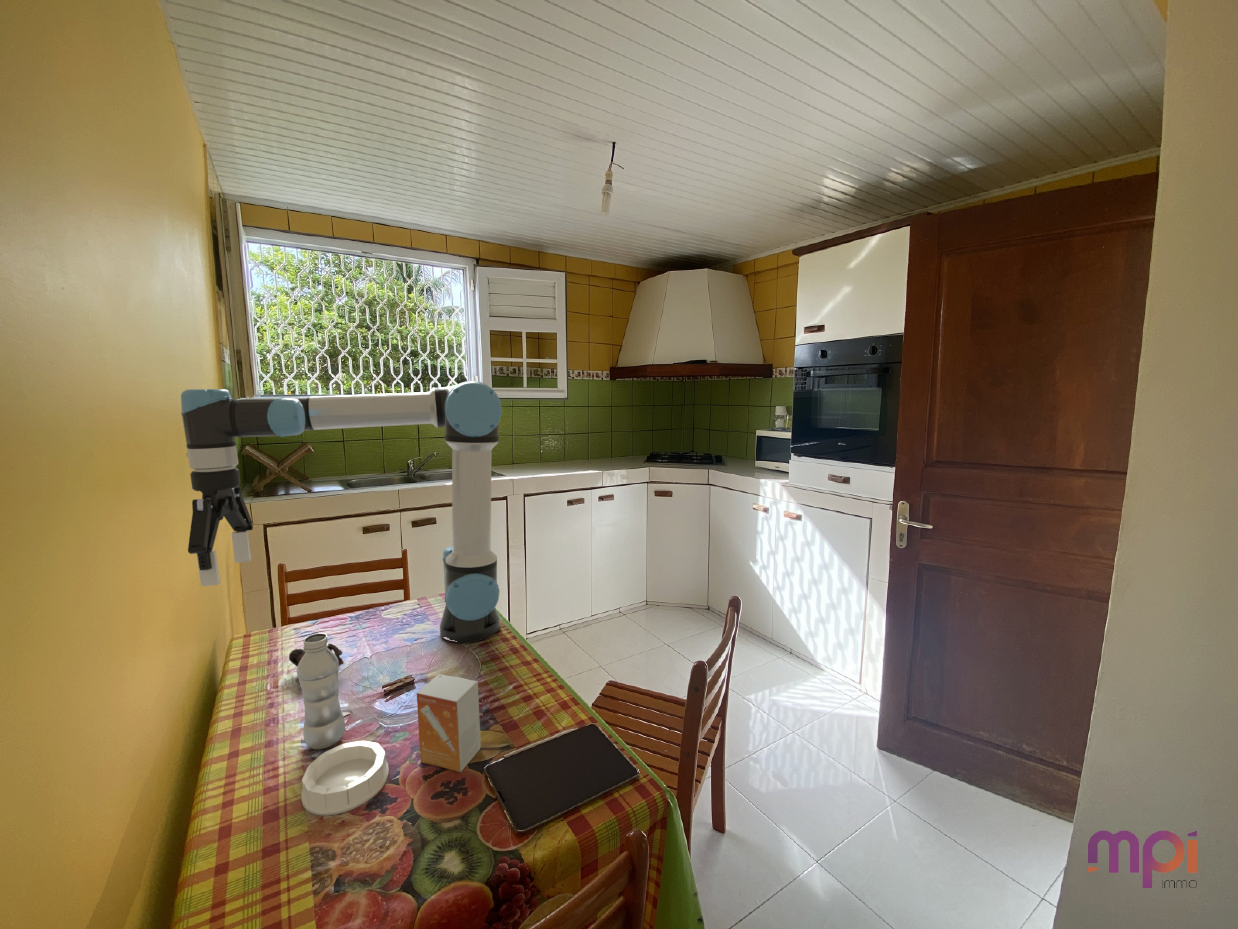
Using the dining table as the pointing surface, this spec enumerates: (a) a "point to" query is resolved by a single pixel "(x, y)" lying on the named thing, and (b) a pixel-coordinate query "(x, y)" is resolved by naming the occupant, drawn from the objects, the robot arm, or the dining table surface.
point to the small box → (449, 722)
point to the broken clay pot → (299, 653)
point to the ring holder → (344, 778)
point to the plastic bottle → (320, 693)
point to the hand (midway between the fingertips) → (228, 572)
